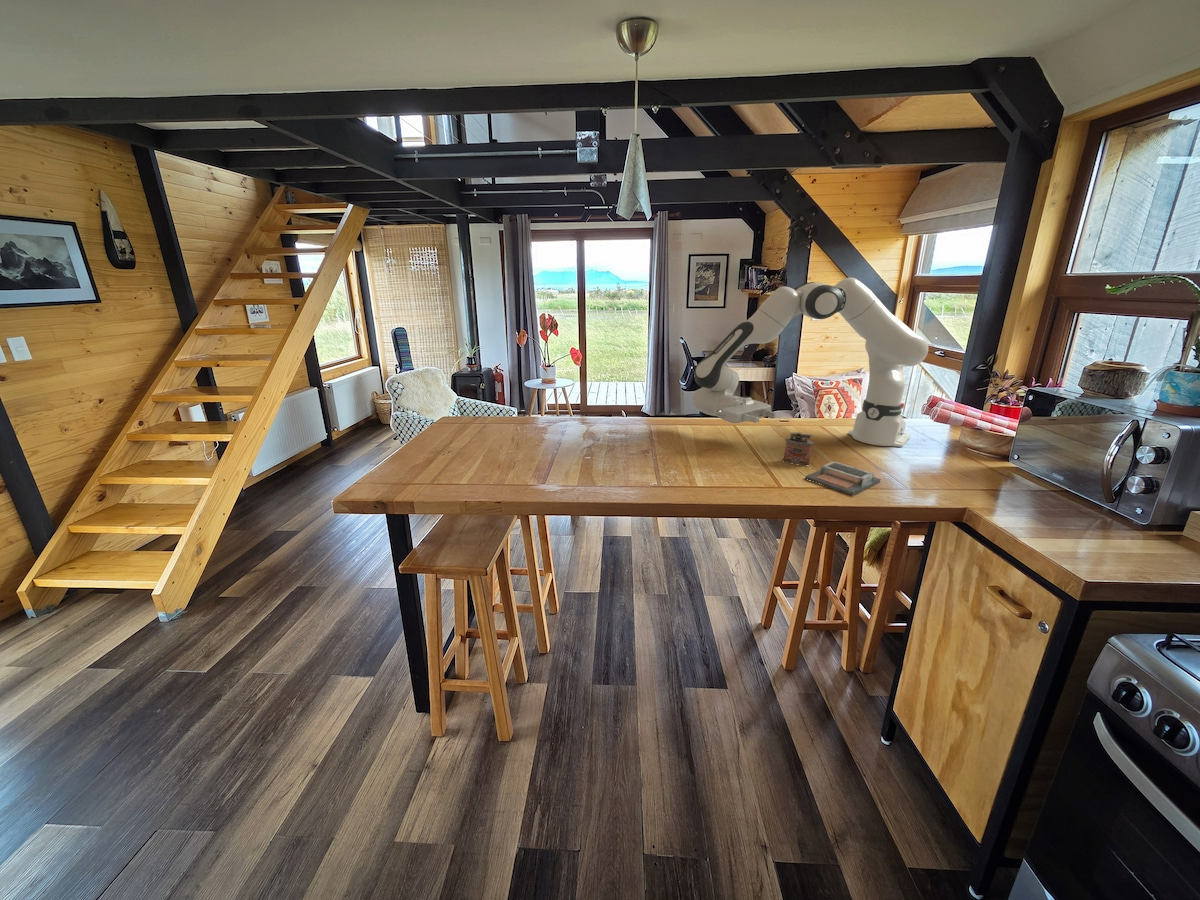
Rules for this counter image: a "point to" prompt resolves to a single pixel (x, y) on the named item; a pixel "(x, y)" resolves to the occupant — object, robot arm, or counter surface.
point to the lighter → (798, 449)
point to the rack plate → (843, 478)
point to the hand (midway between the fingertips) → (766, 417)
